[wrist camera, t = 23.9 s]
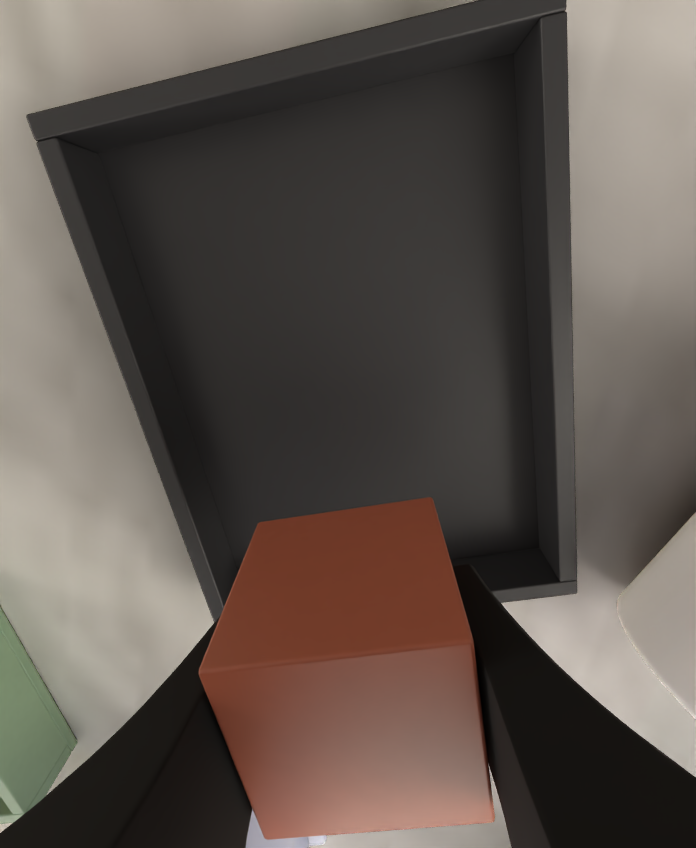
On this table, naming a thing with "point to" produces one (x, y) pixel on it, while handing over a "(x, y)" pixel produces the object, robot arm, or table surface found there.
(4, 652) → the bin
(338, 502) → the pan
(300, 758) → the terracotta block
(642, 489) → the table surface
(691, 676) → the mug
